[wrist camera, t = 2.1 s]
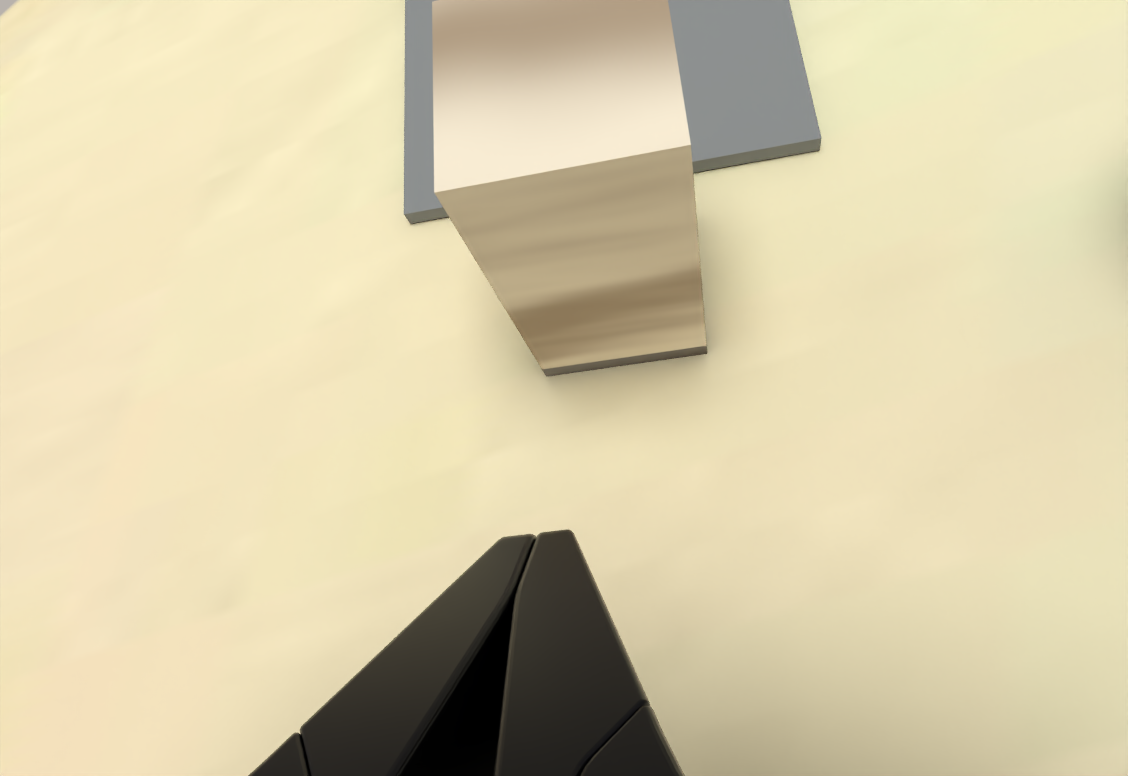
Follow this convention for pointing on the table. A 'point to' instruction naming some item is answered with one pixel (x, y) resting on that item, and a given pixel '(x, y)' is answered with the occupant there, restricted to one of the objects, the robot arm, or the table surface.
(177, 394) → the table surface
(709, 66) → the mat
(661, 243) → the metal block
